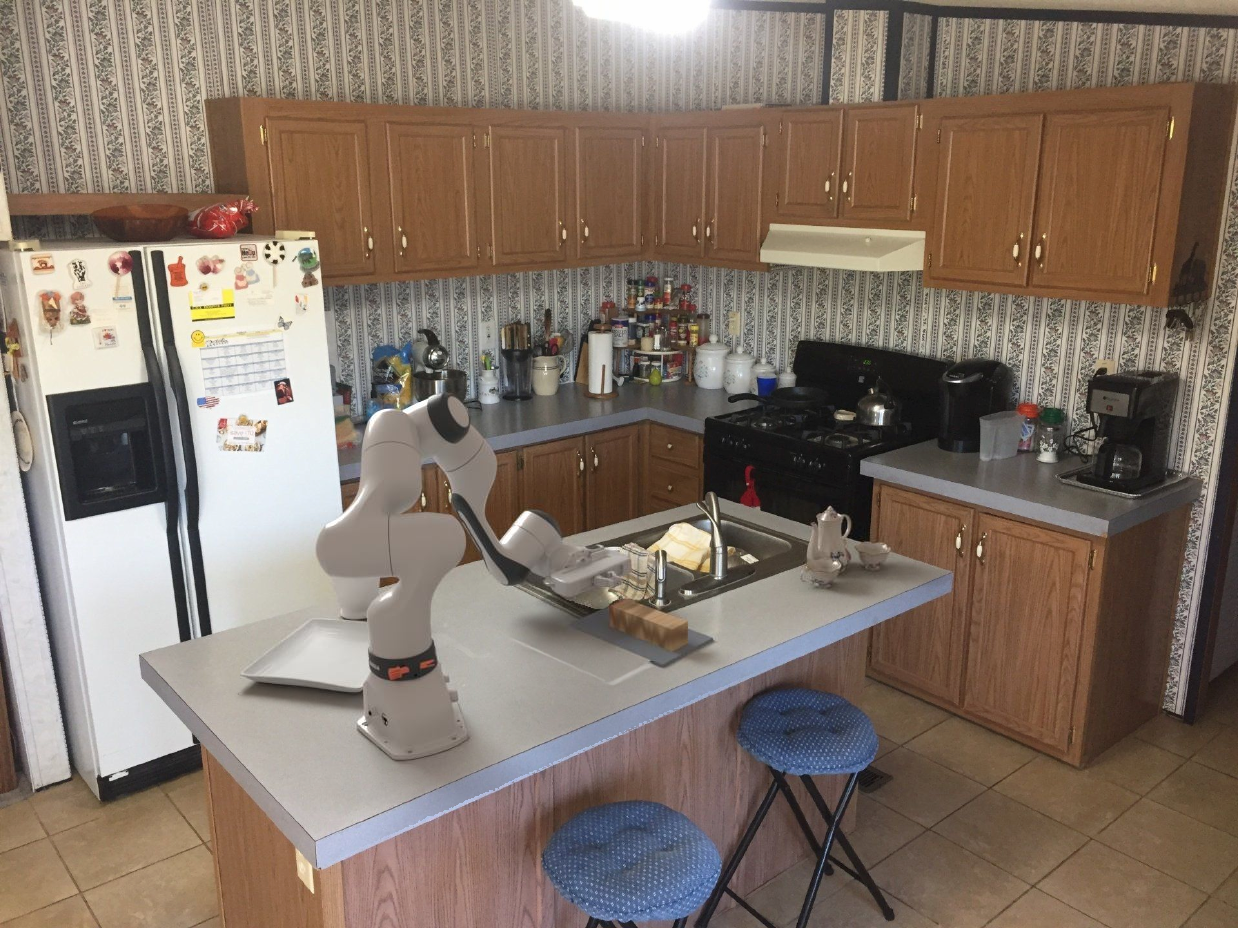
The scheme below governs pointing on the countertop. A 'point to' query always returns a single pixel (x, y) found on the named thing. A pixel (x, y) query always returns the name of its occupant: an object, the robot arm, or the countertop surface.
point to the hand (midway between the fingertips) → (617, 583)
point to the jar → (355, 596)
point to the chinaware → (837, 550)
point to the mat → (636, 639)
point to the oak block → (649, 624)
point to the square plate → (317, 657)
